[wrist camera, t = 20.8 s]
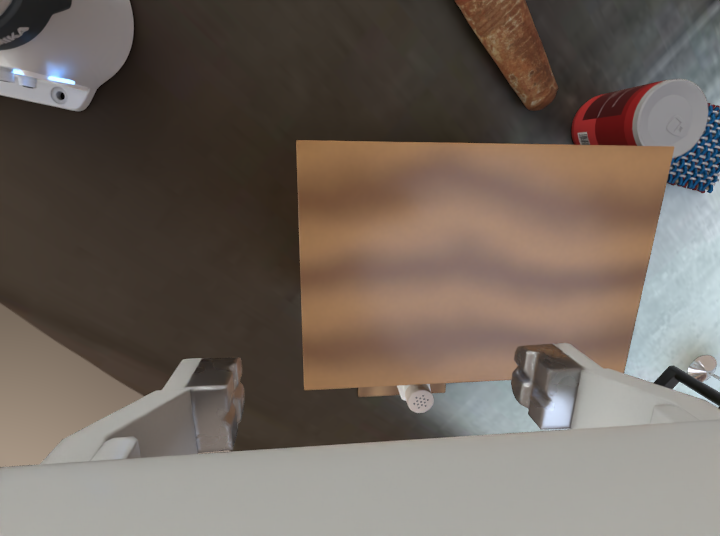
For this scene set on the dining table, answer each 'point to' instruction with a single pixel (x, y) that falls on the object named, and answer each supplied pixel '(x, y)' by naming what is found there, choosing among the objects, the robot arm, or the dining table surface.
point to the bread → (513, 47)
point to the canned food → (644, 117)
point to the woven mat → (700, 158)
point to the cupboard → (469, 255)
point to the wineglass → (703, 368)
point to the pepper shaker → (417, 396)
